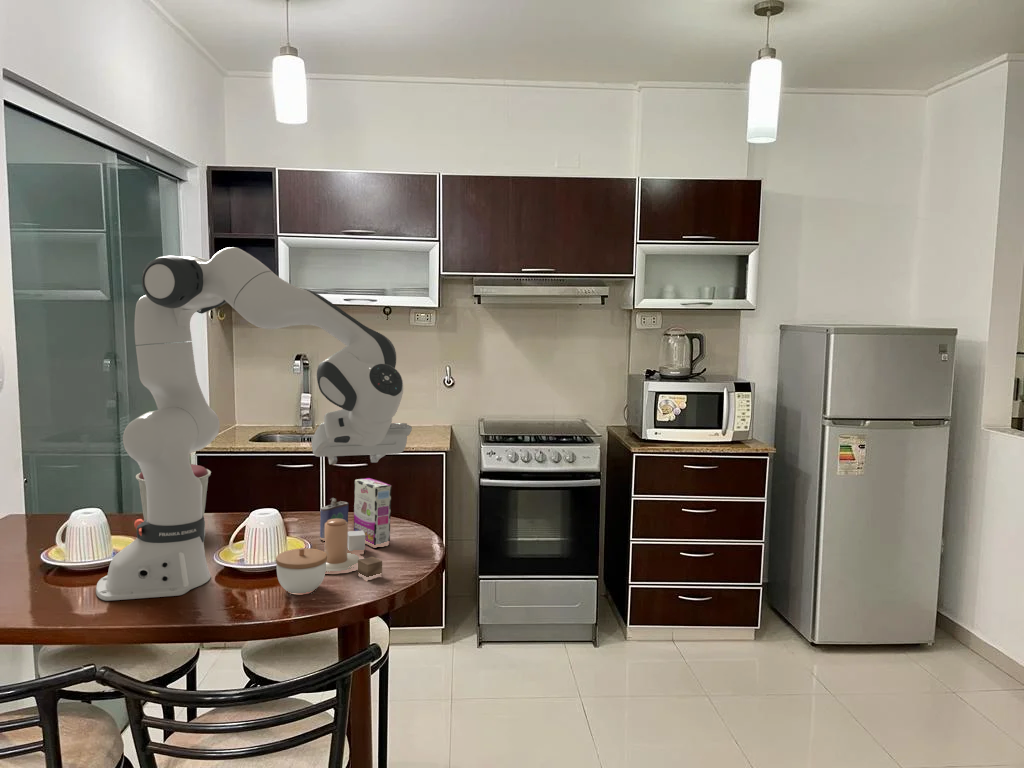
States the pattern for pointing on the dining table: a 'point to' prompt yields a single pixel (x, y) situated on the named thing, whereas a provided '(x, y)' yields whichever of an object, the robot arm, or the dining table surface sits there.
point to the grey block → (356, 540)
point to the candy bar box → (372, 509)
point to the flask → (333, 513)
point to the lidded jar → (301, 569)
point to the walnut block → (369, 566)
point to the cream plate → (350, 561)
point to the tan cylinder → (336, 540)
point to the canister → (198, 472)
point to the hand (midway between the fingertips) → (353, 460)
